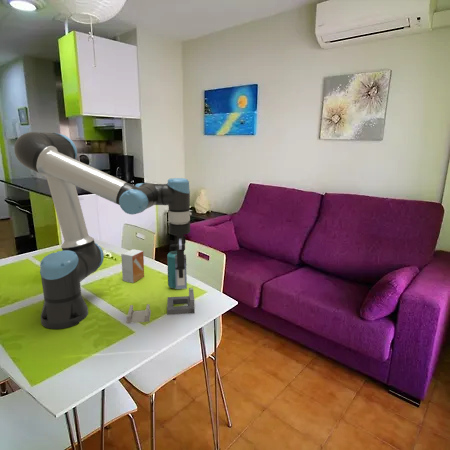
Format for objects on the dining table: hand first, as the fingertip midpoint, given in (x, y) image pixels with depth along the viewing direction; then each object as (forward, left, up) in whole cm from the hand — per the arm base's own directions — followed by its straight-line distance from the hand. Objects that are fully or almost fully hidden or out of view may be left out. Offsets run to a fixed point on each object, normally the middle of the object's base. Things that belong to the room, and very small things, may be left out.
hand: (181, 282), depth 120 cm
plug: (0, 0, -2) cm, 2 cm away
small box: (-21, +30, -11) cm, 38 cm away
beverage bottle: (-2, +18, -11) cm, 21 cm away
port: (0, 0, -11) cm, 11 cm away
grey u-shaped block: (-15, -5, -11) cm, 19 cm away
